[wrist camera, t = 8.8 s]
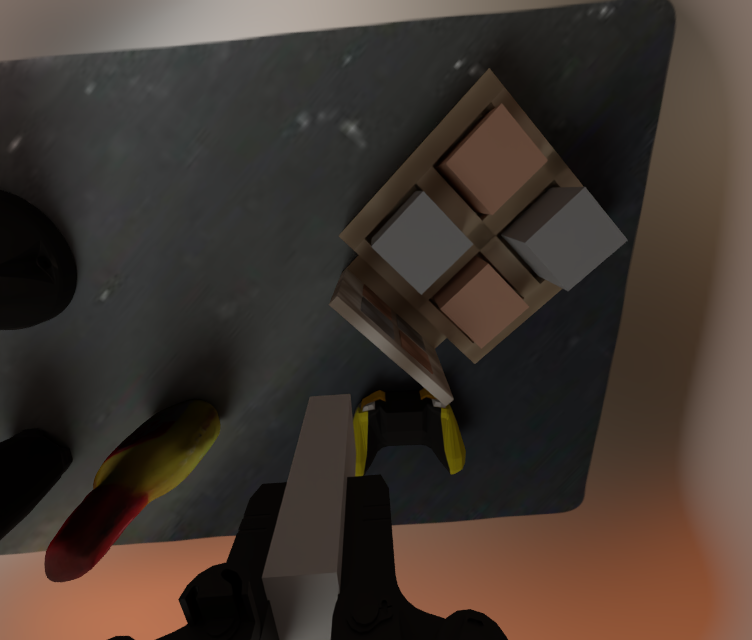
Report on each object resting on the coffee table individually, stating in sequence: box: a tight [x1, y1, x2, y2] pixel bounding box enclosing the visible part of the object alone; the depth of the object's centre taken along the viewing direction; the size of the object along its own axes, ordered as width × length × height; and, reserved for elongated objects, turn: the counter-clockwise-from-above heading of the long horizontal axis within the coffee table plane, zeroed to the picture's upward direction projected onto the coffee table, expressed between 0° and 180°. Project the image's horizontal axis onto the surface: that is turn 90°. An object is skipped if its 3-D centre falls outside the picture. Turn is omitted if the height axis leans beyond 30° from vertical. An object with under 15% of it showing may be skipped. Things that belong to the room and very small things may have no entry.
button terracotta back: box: [433, 255, 529, 349], centre depth 37 cm, size 6×6×6 cm
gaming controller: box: [353, 388, 466, 476], centre depth 44 cm, size 15×6×10 cm
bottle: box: [45, 399, 220, 582], centre depth 37 cm, size 12×6×20 cm, turn 107°
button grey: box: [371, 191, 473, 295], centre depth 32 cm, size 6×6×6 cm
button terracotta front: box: [435, 103, 548, 215], centre depth 32 cm, size 6×6×6 cm
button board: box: [329, 68, 584, 406], centre depth 33 cm, size 20×22×12 cm
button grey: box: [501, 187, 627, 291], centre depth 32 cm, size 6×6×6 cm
